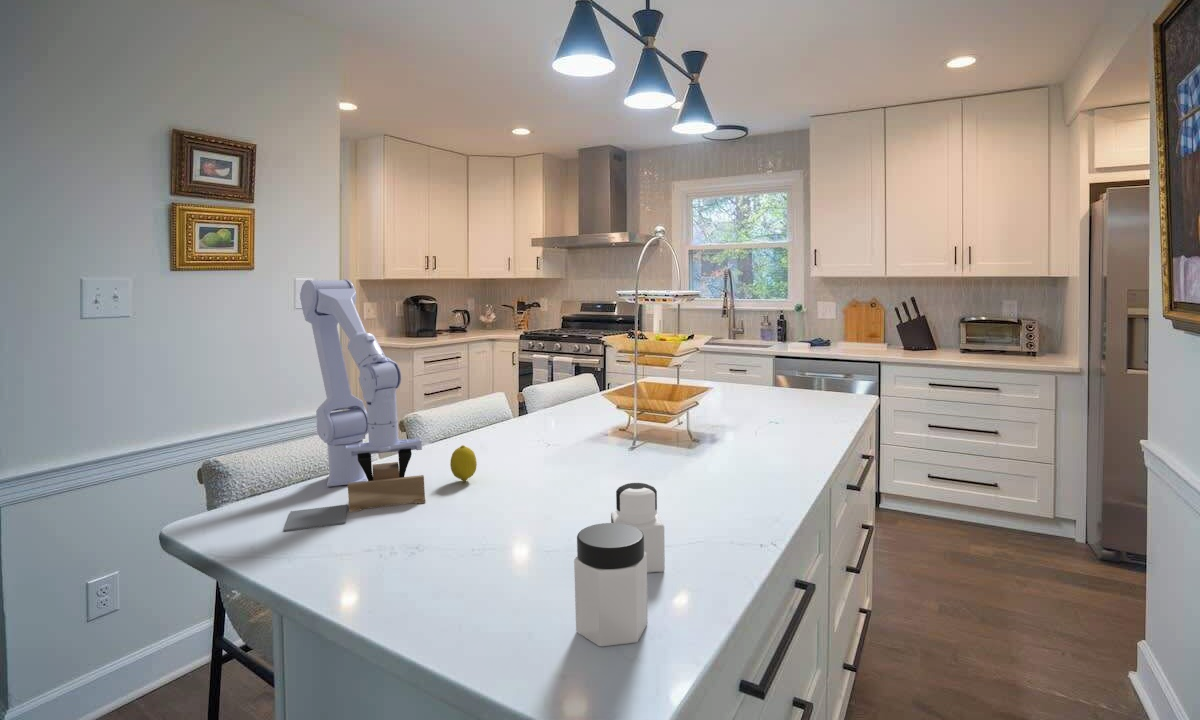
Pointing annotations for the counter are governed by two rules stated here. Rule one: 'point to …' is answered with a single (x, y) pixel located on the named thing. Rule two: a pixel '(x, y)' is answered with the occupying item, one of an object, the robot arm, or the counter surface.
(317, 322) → the robot arm
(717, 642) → the counter surface
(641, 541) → the jar
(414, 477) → the screen
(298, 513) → the mat
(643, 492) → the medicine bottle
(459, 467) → the lemon
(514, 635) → the counter surface
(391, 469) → the letter block
